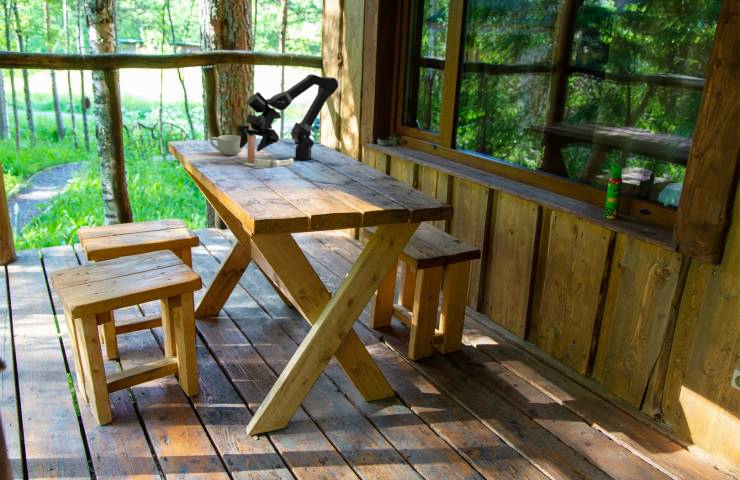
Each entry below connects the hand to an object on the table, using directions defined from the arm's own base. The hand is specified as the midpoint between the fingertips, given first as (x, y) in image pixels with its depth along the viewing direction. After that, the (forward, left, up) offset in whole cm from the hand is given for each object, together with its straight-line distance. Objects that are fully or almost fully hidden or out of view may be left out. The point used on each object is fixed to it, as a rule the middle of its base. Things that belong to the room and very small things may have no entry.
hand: (248, 149), depth 248 cm
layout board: (-8, 0, -7) cm, 10 cm away
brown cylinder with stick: (-4, +3, -6) cm, 8 cm away
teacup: (-5, -25, -7) cm, 26 cm away
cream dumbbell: (-13, +7, -7) cm, 16 cm away
